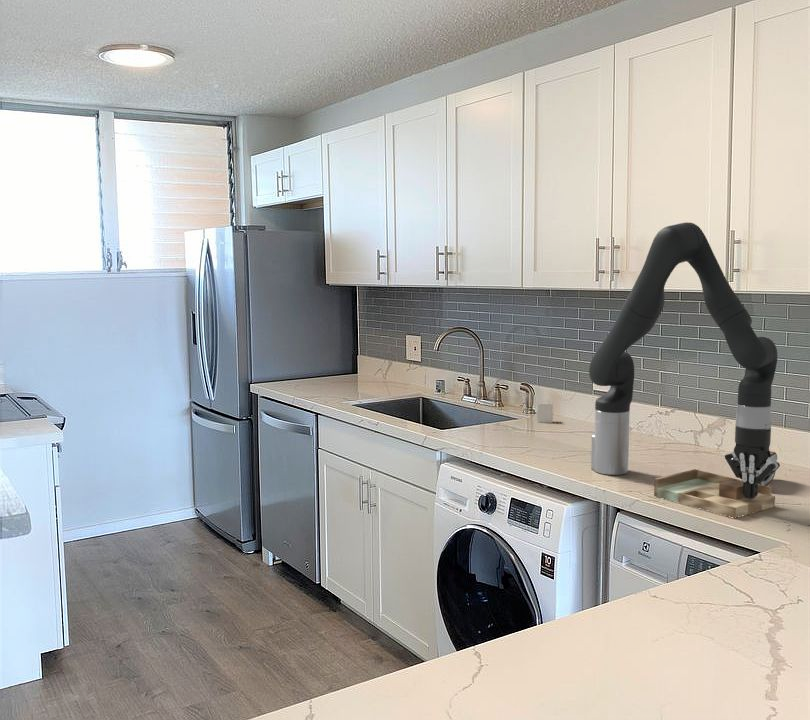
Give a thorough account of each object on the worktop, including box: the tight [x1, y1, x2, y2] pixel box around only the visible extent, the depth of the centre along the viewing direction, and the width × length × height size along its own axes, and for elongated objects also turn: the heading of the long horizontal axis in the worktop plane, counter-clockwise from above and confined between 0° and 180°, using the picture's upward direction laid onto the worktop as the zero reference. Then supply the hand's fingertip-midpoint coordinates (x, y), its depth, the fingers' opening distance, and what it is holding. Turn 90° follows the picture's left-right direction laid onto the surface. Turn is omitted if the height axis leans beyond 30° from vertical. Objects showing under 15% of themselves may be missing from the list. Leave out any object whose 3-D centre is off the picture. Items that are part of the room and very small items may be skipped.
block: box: [719, 481, 745, 500], centre depth 192 cm, size 4×4×3 cm
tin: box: [758, 450, 778, 486], centre depth 212 cm, size 15×3×8 cm, turn 141°
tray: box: [653, 468, 776, 519], centre depth 196 cm, size 22×16×4 cm
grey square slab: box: [536, 402, 558, 424], centre depth 297 cm, size 3×7×7 cm, turn 73°
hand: (750, 498), depth 188 cm, fingers closed
